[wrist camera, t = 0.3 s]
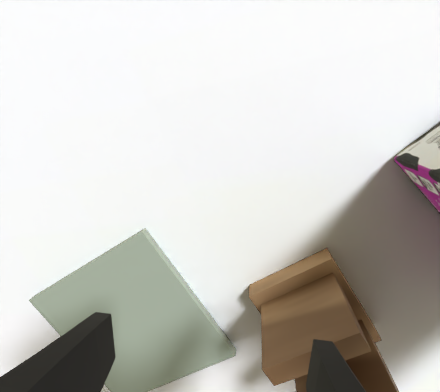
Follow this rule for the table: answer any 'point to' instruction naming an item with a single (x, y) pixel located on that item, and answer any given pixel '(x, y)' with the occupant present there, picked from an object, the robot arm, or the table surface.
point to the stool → (316, 323)
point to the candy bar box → (424, 164)
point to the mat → (139, 315)
